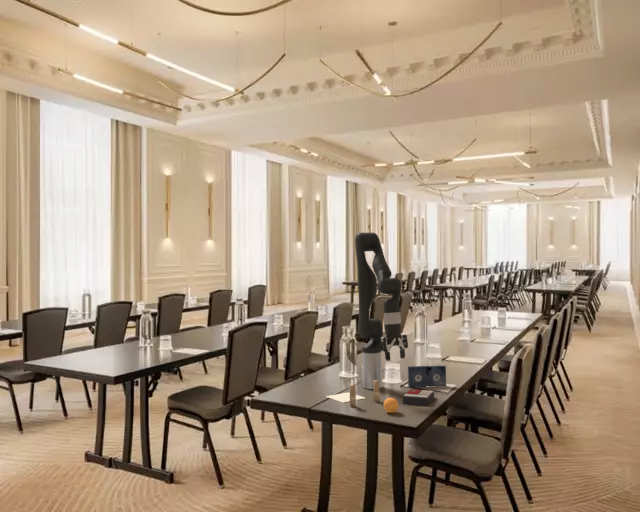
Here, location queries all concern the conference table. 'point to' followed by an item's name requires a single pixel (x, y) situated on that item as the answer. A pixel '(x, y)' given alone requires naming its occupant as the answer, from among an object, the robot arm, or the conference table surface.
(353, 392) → the post
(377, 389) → the post
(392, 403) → the ball
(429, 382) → the vhs cassette tape
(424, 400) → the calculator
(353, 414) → the conference table surface
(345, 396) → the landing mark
